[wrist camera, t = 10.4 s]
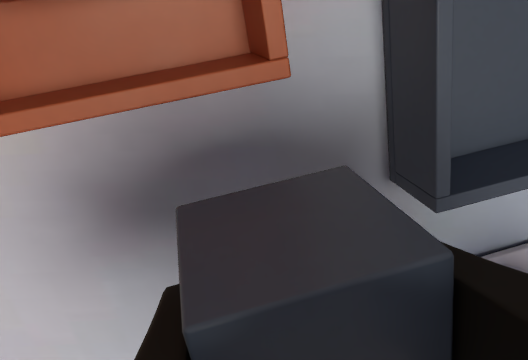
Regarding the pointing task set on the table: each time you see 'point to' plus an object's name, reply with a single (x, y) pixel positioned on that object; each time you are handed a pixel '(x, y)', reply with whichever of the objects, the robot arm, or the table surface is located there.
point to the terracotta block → (5, 0)
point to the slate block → (312, 275)
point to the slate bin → (457, 98)
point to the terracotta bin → (130, 55)
